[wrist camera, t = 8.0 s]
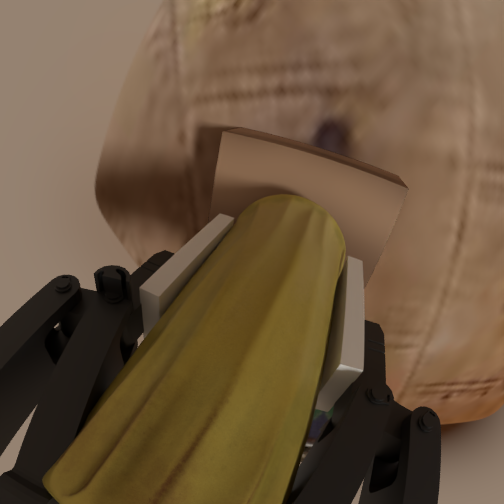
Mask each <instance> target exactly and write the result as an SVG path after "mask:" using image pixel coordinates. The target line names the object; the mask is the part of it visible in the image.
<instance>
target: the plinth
mask: <svg viewBox="0 0 504 504" xmlns="http://www.w3.org/2000/svg"><path fill="white" fill-rule="evenodd" d="M408 190H409V189H408V187H407V186H406V185H405V184H404V182H403V181H402V180H401V179H400V177H399V176H397V175H395V174H392V173H390V172H387V171H384V170H382V169H379V168H377V167H374V166H371V165H369V164H366V163H363V162H360V161H358V160H355V159H352V158H349V157H346V156H343V155H340V154H337V153H334V152H331V151H328V150H325V149H321V148H318V147H315V146H312V145H308V144H305V143H301V142H298V141H294V140H291V139H287V138H283V137H279V136H275V135H272V134H268V133H263V132H259V131H255V130H251V129H246V128H236V129H231V130H226V131H223V132H222V138H221V143H220V149H219V155H218V161H217V167H216V173H215V179H214V186H213V192H212V199H211V205H210V212H209V219H208V223H210V222H211V221H212V220H213V219H214V218H215V217H216V216H218V215H219V214H220V213H221V214H224V215H227V216H230V217H233V218H234V222H233V225H234V224H235V223H236V221H237V219H238V217H239V215H240V214H241V213H242V212H243V211H244V210H245V209H246V208H247V207H248V206H250V205H251V204H252V203H254V202H255V201H257V200H259V199H262V198H264V197H267V196H272V195H280V194H288V195H296V196H300V197H304V198H306V199H309V200H311V201H313V202H315V203H316V204H318V205H320V206H321V207H323V208H324V209H325V210H326V211H327V212H328V213H329V214H330V215H331V216H332V217H333V218H334V220H335V221H336V223H337V224H338V226H339V228H340V230H341V232H342V234H343V237H344V241H345V247H346V253H345V260H344V264H345V262H346V259H347V257H348V256H350V257H353V258H356V259H359V260H361V261H363V280H364V289H365V287H366V285H367V283H368V281H369V279H370V277H371V275H372V273H373V271H374V269H375V267H376V265H377V262H378V260H379V258H380V256H381V254H382V252H383V250H384V247H385V245H386V243H387V241H388V238H389V236H390V234H391V232H392V229H393V227H394V225H395V222H396V220H397V217H398V215H399V213H400V210H401V208H402V205H403V203H404V200H405V198H406V195H407V192H408ZM343 266H344V265H343Z"/></svg>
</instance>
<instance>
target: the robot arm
mask: <svg viewBox="0 0 504 504" xmlns="http://www.w3.org/2000/svg"><path fill="white" fill-rule="evenodd" d="M233 222H234V218H233V217H230V216H227V215H224V214H221V213H220V214H219V215H218V216H216V217H215V218H214V219H213V220H212V221H211V222H210V223H208V224H207V225H206V226H205V227H204V228H203V229H202V230H201V231H200V232H198V233H197V234H196V235H195V236H194V237H193V238H192V239H191V240H190V241H188V242H187V243H186V244H185V245H184V246H183V247H182V248H181V249H180V250H179V251H178V252H176V253H175V254H174V253H171V252H169V251H166V250H164V251H162V252H159V253H156V254H154V255H153V256H152V257H151V258H150V259H148V260H147V262H145V263H144V264H143V265H141V267H139V268H138V269H137V270H136V271H135V272H133V274H132V275H130V274H129V272H128V271H127V270H126V269H125V268H123V267H120V266H113V265H111V266H105V267H102V268H100V269H98V270H97V271H96V272H95V273H94V278H95V283H96V289H97V291H93V290H88V289H83V288H81V287H80V283H79V280H78V279H77V278H76V277H75V276H72V275H61V276H58V277H56V278H54V279H53V280H51V282H49V283H48V284H47V285H46V286H44V287H43V288H42V289H41V290H40V291H39V292H37V293H36V294H35V295H34V296H33V297H32V298H31V299H30V300H28V301H27V302H26V303H25V304H24V305H23V306H22V307H21V308H20V309H19V310H17V311H16V312H15V313H14V314H13V315H12V316H11V317H10V318H9V319H8V320H7V321H6V322H5V323H4V324H3V325H2V326H1V327H0V456H1V455H2V453H3V452H4V450H5V449H6V447H7V446H8V444H9V443H10V441H11V440H12V438H13V437H14V436H15V434H16V433H17V431H18V430H19V429H20V427H21V426H22V424H23V423H24V422H25V420H26V419H27V417H28V416H29V415H30V413H31V412H32V411H33V409H34V408H35V407H36V405H37V404H38V405H37V407H36V410H35V412H34V414H33V417H32V419H31V422H30V424H29V427H28V430H27V432H26V435H25V438H24V440H23V443H22V446H21V449H20V451H19V455H18V457H17V460H16V464H15V466H14V468H13V469H12V470H10V471H7V472H4V473H3V474H2V475H1V476H0V504H59V503H58V502H57V501H56V500H55V499H54V497H53V496H52V495H51V494H50V493H49V492H48V491H47V489H46V488H45V487H44V485H43V482H42V479H43V477H44V475H45V474H46V472H47V471H48V470H49V469H50V468H51V467H52V466H53V465H54V464H55V462H56V461H57V460H58V459H59V458H60V456H61V455H62V454H63V453H64V452H65V450H66V449H67V448H68V447H69V445H70V444H71V443H72V442H73V440H74V439H75V438H76V437H77V435H78V434H79V432H80V430H81V429H82V427H83V425H84V423H85V421H86V419H87V417H88V415H89V413H90V412H91V410H92V409H93V407H94V406H95V405H96V403H97V402H98V400H99V399H100V397H101V396H102V395H103V393H104V392H105V391H106V389H107V388H108V387H109V385H110V384H111V383H112V381H113V380H114V379H115V377H116V376H117V375H118V373H119V372H120V371H121V369H122V368H123V367H124V365H125V364H126V363H127V361H128V360H129V359H130V357H131V356H132V355H133V353H134V352H135V351H136V349H137V346H138V342H137V339H138V338H139V337H140V336H141V334H142V333H143V334H144V338H145V337H146V336H147V335H148V333H149V332H150V331H151V329H152V328H153V327H154V326H155V324H156V323H157V322H158V321H159V319H160V318H161V317H162V316H163V314H164V313H165V312H166V310H167V309H168V308H169V306H170V305H171V304H172V302H173V301H174V300H175V298H176V297H177V296H178V294H179V293H180V292H181V290H182V289H183V288H184V287H185V285H186V284H187V283H188V282H189V280H190V279H191V278H192V277H193V275H194V274H195V273H196V272H197V270H198V269H199V268H200V267H201V265H202V264H203V263H204V262H205V261H206V259H207V258H208V257H209V256H210V255H211V253H212V252H213V251H214V250H215V249H216V247H217V246H218V245H219V243H220V242H221V241H222V239H223V238H224V237H225V235H226V234H227V233H228V232H229V230H230V229H231V228H232V227H233ZM57 323H59V326H58V327H56V328H54V326H55V325H57ZM384 353H385V346H384V333H383V331H382V329H381V327H380V325H379V324H377V323H373V322H370V321H367V320H364V280H363V261H361V260H359V259H356V258H353V257H350V256H348V257H347V259H346V262H345V264H344V266H343V268H342V271H341V273H340V275H339V278H338V280H337V284H336V289H335V298H334V313H333V321H332V328H331V334H330V340H329V346H328V351H327V357H326V362H325V367H324V372H323V377H322V381H321V386H320V391H319V395H318V399H317V404H316V408H315V409H318V410H322V411H325V412H328V411H329V410H330V409H331V408H332V407H333V406H334V408H333V414H332V417H331V418H330V419H329V420H328V421H327V422H326V423H325V424H324V425H323V426H322V427H321V428H320V429H319V430H320V431H321V432H320V434H319V436H318V437H317V439H316V441H315V442H314V444H313V446H312V447H311V449H310V450H309V452H308V454H307V455H306V457H305V458H304V460H303V461H302V463H301V464H300V466H299V468H298V472H297V475H296V478H295V482H294V485H293V489H292V492H291V494H290V496H289V498H288V500H287V502H286V504H351V503H352V501H353V499H354V497H355V495H356V493H357V491H358V489H359V487H360V485H361V483H362V481H363V479H364V482H363V486H362V491H361V495H360V500H359V504H437V503H438V494H439V482H440V463H441V425H440V420H439V418H438V416H437V414H436V413H435V412H434V411H433V410H432V409H430V408H428V407H418V408H416V409H415V410H414V411H410V410H409V409H407V408H405V407H403V406H401V405H400V404H398V403H397V402H395V401H394V397H393V394H392V391H391V389H390V388H389V387H388V385H386V370H385V354H384Z"/></svg>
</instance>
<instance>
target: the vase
mask: <svg viewBox="0 0 504 504" xmlns="http://www.w3.org/2000/svg"><path fill="white" fill-rule="evenodd" d="M345 253H346V247H345V241H344V237H343V234H342V232H341V230H340V228H339V226H338V224H337V223H336V221H335V220H334V218H333V217H332V216H331V215H330V214H329V213H328V212H327V211H326V210H325V209H324V208H323V207H321V206H320V205H318V204H316V203H315V202H313V201H311V200H309V199H306V198H304V197H300V196H296V195H288V194H280V195H272V196H267V197H264V198H262V199H259V200H257V201H255V202H254V203H252V204H251V205H250V206H248V207H247V208H246V209H245V210H244V211H243V212H242V213H241V214H240V215H239V217H238V219H237V221H236V223H235V224H234V225H233V227H232V228H231V229H230V230H229V232H228V233H227V234H226V235H225V237H224V238H223V239H222V241H221V242H220V243H219V245H218V246H217V247H216V249H215V250H214V251H213V252H212V253H211V255H210V256H209V257H208V258H207V259H206V261H205V262H204V263H203V264H202V265H201V267H200V268H199V269H198V270H197V272H196V273H195V274H194V275H193V277H192V278H191V279H190V280H189V282H188V283H187V284H186V285H185V287H184V288H183V289H182V290H181V292H180V293H179V294H178V296H177V297H176V298H175V300H174V301H173V302H172V304H171V305H170V306H169V308H168V309H167V310H166V312H165V313H164V314H163V316H162V317H161V318H160V319H159V321H158V322H157V323H156V324H155V326H154V327H153V328H152V329H151V331H150V332H149V333H148V335H147V336H146V337H145V338H144V340H143V341H142V343H141V344H140V345H139V347H138V348H137V349H136V351H135V352H134V353H133V355H132V356H131V357H130V359H129V360H128V361H127V363H126V364H125V365H124V367H123V368H122V369H121V371H120V372H119V373H118V375H117V376H116V377H115V379H114V380H113V381H112V383H111V384H110V385H109V387H108V388H107V389H106V391H105V392H104V393H103V395H102V396H101V397H100V399H99V400H98V402H97V403H96V405H95V406H94V407H93V409H92V410H91V412H90V413H89V415H88V417H87V419H86V421H85V423H84V425H83V427H82V429H81V430H80V432H79V434H78V435H77V437H76V438H75V439H74V440H73V442H72V443H71V444H70V445H69V447H68V448H67V449H66V450H65V452H64V453H63V454H62V455H61V456H60V458H59V459H58V460H57V461H56V462H55V464H54V465H53V466H52V467H51V468H50V469H49V470H48V471H47V472H46V474H45V475H44V477H43V479H42V482H43V485H44V487H45V488H46V489H47V491H48V492H49V493H50V494H51V495H52V496H53V497H54V499H55V500H56V501H57V502H58V503H59V504H286V502H287V500H288V498H289V496H290V494H291V492H292V489H293V485H294V482H295V478H296V475H297V472H298V468H299V464H300V461H301V458H302V455H303V452H304V449H305V446H306V442H307V439H308V436H309V432H310V428H311V425H312V421H313V417H314V412H315V408H316V404H317V399H318V395H319V391H320V386H321V381H322V377H323V372H324V367H325V362H326V357H327V351H328V346H329V340H330V334H331V328H332V321H333V313H334V298H335V289H336V284H337V280H338V278H339V275H340V273H341V271H342V268H343V265H344V260H345Z"/></svg>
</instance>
